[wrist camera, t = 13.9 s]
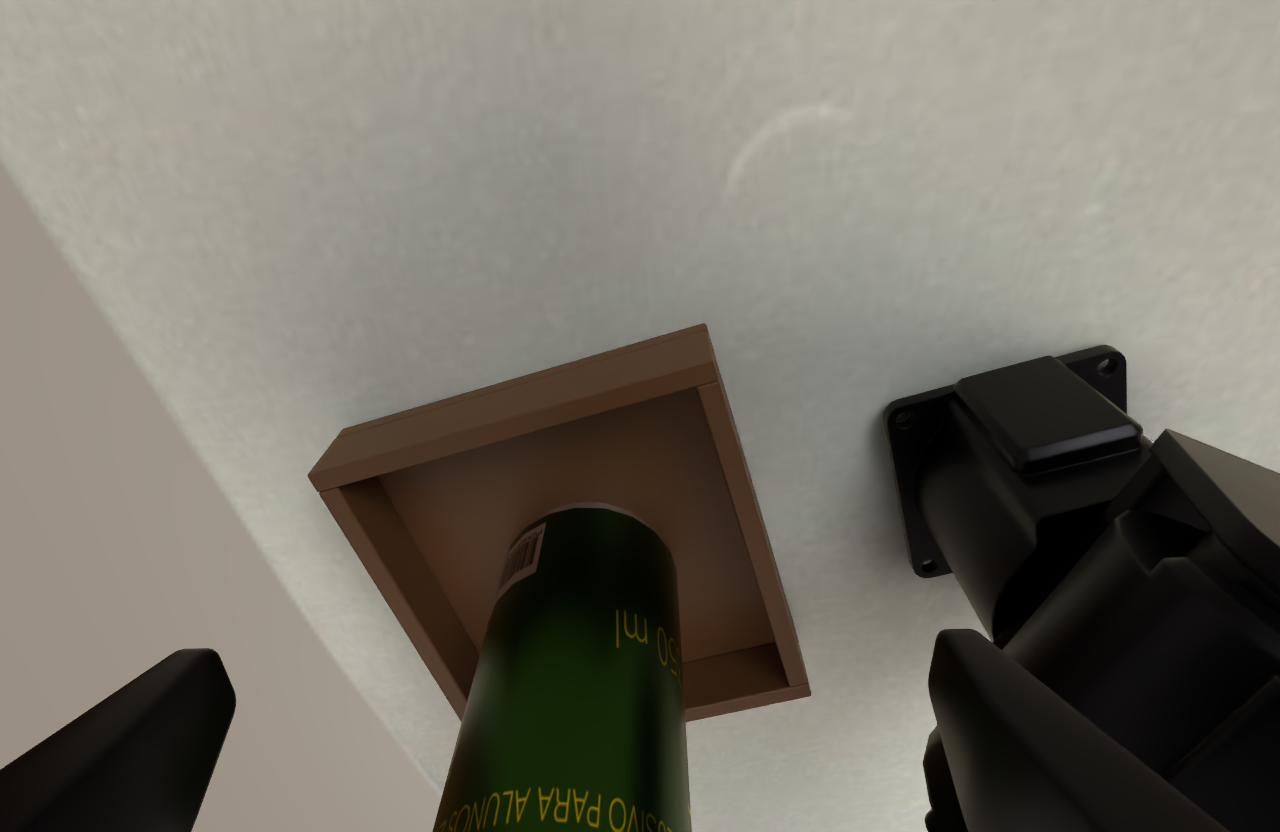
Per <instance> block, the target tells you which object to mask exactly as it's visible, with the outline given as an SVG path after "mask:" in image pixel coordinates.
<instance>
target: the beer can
mask: <svg viewBox="0 0 1280 832" xmlns="http://www.w3.org/2000/svg"><path fill="white" fill-rule="evenodd" d="M433 832H692V827H691V810H690V792H689V775H688V757H687V740H686V723H685V705H684V688H683V670H682V653H681V635H680V618H679V601H678V583H677V570H676V567H675V564H674V561H673V558H672V555H671V552H670V550H669V548H668V547H667V546H666V545H665V543H664V542H663V541H662V540H661V538H660V537H659V536H658V535H657V533H656V532H655V531H654V530H653V529H652V528H651V526H650V525H649V524H648V523H647V522H646V521H644V520H643V519H641V518H640V517H638V516H637V515H635V514H634V513H632V512H631V511H629V510H627V509H624V508H621V507H618V506H614V505H611V504H608V503H603V502H577V503H572V504H568V505H564V506H560V507H556V508H555V509H553V510H551V511H549V512H548V513H546V514H544V515H542V516H540V517H539V518H537V519H536V520H535V521H533V522H532V523H531V524H529V525H528V526H527V527H526V528H525V529H524V530H523V531H522V532H521V534H520V535H519V536H518V537H517V538H516V539H515V540H514V542H513V543H512V544H511V546H510V549H509V551H508V554H507V557H506V560H505V563H504V566H503V569H502V573H501V577H500V581H499V584H498V588H497V592H496V596H495V599H494V603H493V607H492V611H491V614H490V618H489V622H488V626H487V629H486V633H485V637H484V641H483V644H482V648H481V652H480V656H479V659H478V663H477V667H476V671H475V674H474V678H473V682H472V686H471V690H470V693H469V697H468V701H467V705H466V708H465V712H464V716H463V720H462V723H461V727H460V731H459V735H458V738H457V742H456V746H455V750H454V753H453V757H452V761H451V765H450V768H449V772H448V776H447V780H446V783H445V787H444V791H443V795H442V798H441V802H440V806H439V810H438V813H437V817H436V821H435V825H434V828H433Z"/></svg>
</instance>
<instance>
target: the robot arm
mask: <svg viewBox="0 0 1280 832" xmlns="http://www.w3.org/2000/svg"><path fill="white" fill-rule="evenodd" d="M1107 359H1109V361H1108V364H1107V365H1106V366H1105V367H1104V368H1102V369H1100V370H1097V369H1098V366H1099V365H1100V363H1101V362H1103V361H1105V360H1107ZM902 413H909V416H908V418H907V419H906V420H904V421H902V422H896V418H897V417H898V416H899V415H900V414H902ZM883 421H884V426H885V431H886V437H887V442H888V448H889V453H890V458H891V464H892V469H893V475H894V480H895V486H896V491H897V496H898V502H899V507H900V513H901V518H902V523H903V529H904V534H905V540H906V545H907V551H908V556H909V561H910V564H911V566H912V568H913V570H914V572H915V574H916V575H918V576H919V577H922V578H932V577H937V576H941V575H946V574H950V573H953V574H954V575H955V577H956V579H957V581H958V582H959V584H960V586H961V588H962V589H963V591H964V593H965V595H966V597H967V598H968V600H969V602H970V604H971V605H972V607H973V609H974V611H975V612H976V614H977V616H978V618H979V620H980V621H981V623H982V625H983V627H984V628H985V630H986V632H987V634H988V636H989V637H990V639H991V641H992V642H990V641H989V640H988V639H987V638H985V637H984V636H983V635H982V634H980V633H979V632H977V631H975V630H973V629H945V630H942V631H940V632H939V634H938V635H937V638H936V642H935V647H934V652H933V657H932V662H931V667H930V672H929V678H928V687H929V694H930V699H931V702H932V706H933V709H934V713H935V717H936V720H937V727H936V728H935V729H934V730H933V731H932V732H931V734H930V735H929V738H928V743H927V747H926V751H925V755H924V760H923V767H924V773H925V778H926V784H927V790H928V796H929V802H930V805H931V807H932V809H931V810H930V811H929V812H928V813H927V814H926V817H925V824H926V828H927V830H928V832H1280V474H1279V473H1277V472H1274V471H1272V470H1269V469H1267V468H1264V467H1262V466H1259V465H1257V464H1254V463H1252V462H1250V461H1247V460H1245V459H1242V458H1240V457H1237V456H1235V455H1232V454H1230V453H1227V452H1225V451H1222V450H1220V449H1217V448H1215V447H1212V446H1210V445H1207V444H1205V443H1202V442H1200V441H1197V440H1195V439H1192V438H1190V437H1187V436H1185V435H1182V434H1180V433H1177V432H1175V431H1172V430H1170V429H1165V430H1164V431H1163V433H1162V434H1161V435H1160V436H1159V437H1158V439H1157V440H1156V441H1155V442H1154V443H1152V442H1151V441H1150V440H1149V439H1147V438H1146V437H1145V436H1144V435H1143V429H1142V427H1141V425H1139V424H1138V423H1137V422H1136V421H1134V420H1133V419H1132V418H1131V417H1129V416H1128V415H1127V383H1126V360H1125V357H1124V356H1123V355H1122V354H1121V353H1120V352H1119V351H1117V350H1116V349H1114V348H1113V347H1110V346H1107V345H1103V346H1096V347H1093V348H1089V349H1085V350H1081V351H1078V352H1074V353H1070V354H1066V355H1063V356H1059V357H1055V358H1054V357H1052V356H1044V357H1041V358H1037V359H1033V360H1029V361H1026V362H1022V363H1018V364H1014V365H1011V366H1007V367H1003V368H999V369H996V370H992V371H988V372H984V373H981V374H977V375H973V376H969V377H966V378H962V379H961V380H959V381H958V382H957V383H956V384H954V385H950V386H946V387H942V388H939V389H935V390H931V391H927V392H924V393H920V394H916V395H912V396H909V397H905V398H901V399H898V400H895V401H893V402H891V403H890V404H889V405H888V406H887V407H886V409H885V411H884V413H883ZM927 560H932V561H931V562H930V563H927V564H923V563H924V562H925V561H927ZM235 707H236V697H235V692H234V689H233V687H232V684H231V682H230V679H229V677H228V675H227V672H226V670H225V668H224V665H223V663H222V661H221V658H220V656H219V654H218V653H217V652H216V651H214V650H213V649H209V648H203V649H202V648H201V649H182V650H178V651H176V652H174V653H173V654H171V655H170V656H168V657H167V658H165V659H164V660H162V661H161V662H159V663H158V664H156V665H155V666H153V667H152V668H151V669H149V670H147V671H146V672H144V673H143V674H141V675H140V676H139V677H137V678H136V679H134V680H133V681H131V682H130V683H128V684H127V685H125V686H124V687H122V688H121V689H119V690H118V691H116V692H115V693H113V694H112V695H110V696H109V697H107V698H106V699H104V700H103V701H102V702H100V703H99V704H97V705H95V706H94V707H93V708H91V709H90V710H88V711H87V712H85V713H84V714H82V715H81V716H79V717H78V718H76V719H75V720H73V721H72V722H70V723H69V724H67V725H66V726H64V727H63V728H61V729H60V730H59V731H57V732H56V733H54V734H53V735H51V736H50V737H48V738H47V739H45V740H44V741H42V742H41V743H39V744H38V745H36V746H35V747H33V748H32V749H30V750H29V751H27V752H26V753H25V754H23V755H21V756H20V757H18V758H17V759H16V760H14V761H13V762H11V763H10V764H8V765H7V766H5V767H4V768H2V769H1V770H0V832H191V831H192V828H193V825H194V823H195V820H196V818H197V815H198V813H199V810H200V807H201V804H202V802H203V799H204V796H205V793H206V790H207V787H208V785H209V782H210V779H211V777H212V774H213V771H214V768H215V766H216V763H217V760H218V757H219V754H220V751H221V749H222V746H223V743H224V741H225V738H226V735H227V732H228V730H229V727H230V724H231V721H232V718H233V716H234V712H235Z"/></svg>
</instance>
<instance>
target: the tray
mask: <svg viewBox="0 0 1280 832" xmlns="http://www.w3.org/2000/svg"><path fill="white" fill-rule="evenodd" d="M308 478H309V479H310V481H311V482H312V484H313V486H314V487H315V489H316V490H317V492H319V494H320V496H321V498H322V499H323V501H324V503H325V504H326V506H327V507H328V509H329V511H330V512H331V514H332V515H333V517H334V519H335V520H336V522H337V523H338V525H339V527H340V528H341V530H342V531H343V533H344V535H345V536H346V538H347V539H348V541H349V543H350V544H351V546H352V547H353V549H354V551H355V552H356V554H357V555H358V557H359V559H360V560H361V562H362V563H363V565H364V567H365V568H366V570H367V571H368V573H369V575H370V576H371V578H372V579H373V581H374V583H375V584H376V586H377V587H378V589H379V591H380V592H381V594H382V595H383V597H384V599H385V600H386V602H387V603H388V605H389V607H390V608H391V610H392V611H393V613H394V615H395V616H396V618H397V619H398V621H399V623H400V624H401V626H402V627H403V629H404V631H405V632H406V634H407V635H408V637H409V639H410V640H411V642H412V643H413V645H414V647H415V648H416V650H417V652H418V653H419V655H420V656H421V658H422V660H423V661H424V663H425V664H426V666H427V668H428V669H429V671H430V672H431V674H432V676H433V677H434V679H435V680H436V682H437V684H438V685H439V687H440V688H441V690H442V692H443V693H444V695H445V696H446V698H447V700H448V701H449V703H450V704H451V706H452V708H453V709H454V711H455V712H456V714H457V716H458V717H459V719H460V720H461V722H462V720H463V716H464V712H465V708H466V705H467V701H468V697H469V693H470V690H471V686H472V682H473V678H474V674H475V671H476V667H477V663H478V659H479V656H480V652H481V648H482V644H483V641H484V637H485V633H486V629H487V626H488V622H489V618H490V614H491V611H492V607H493V603H494V599H495V596H496V592H497V588H498V584H499V581H500V577H501V573H502V569H503V566H504V563H505V560H506V557H507V554H508V551H509V549H510V546H511V544H512V543H513V542H514V540H515V539H516V538H517V537H518V536H519V535H520V534H521V532H522V531H523V530H524V529H525V528H526V527H527V526H528V525H529V524H531V523H532V522H533V521H535V520H536V519H537V518H539V517H540V516H542V515H544V514H546V513H548V512H549V511H551V510H553V509H555V508H556V507H560V506H564V505H568V504H572V503H577V502H603V503H608V504H611V505H614V506H618V507H621V508H624V509H627V510H629V511H631V512H632V513H634V514H635V515H637V516H638V517H640V518H641V519H643V520H644V521H646V522H647V523H648V524H649V525H650V526H651V528H652V529H653V530H654V531H655V532H656V533H657V535H658V536H659V537H660V538H661V540H662V541H663V542H664V543H665V545H666V546H667V547H668V548H669V550H670V552H671V555H672V558H673V561H674V564H675V567H676V570H677V583H678V601H679V618H680V635H681V653H682V670H683V688H684V705H685V722H689V721H694V720H699V719H704V718H708V717H713V716H718V715H723V714H727V713H732V712H737V711H742V710H747V709H751V708H756V707H761V706H766V705H770V704H775V703H780V702H785V701H789V700H794V699H799V698H804V697H808V696H811V690H810V686H809V682H808V678H807V674H806V670H805V666H804V662H803V658H802V654H801V650H800V646H799V642H798V638H797V634H796V631H795V627H794V624H793V620H792V617H791V614H790V610H789V607H788V603H787V600H786V596H785V593H784V590H783V586H782V583H781V579H780V576H779V573H778V569H777V566H776V562H775V559H774V555H773V552H772V549H771V545H770V542H769V538H768V535H767V531H766V528H765V525H764V521H763V518H762V514H761V511H760V508H759V504H758V501H757V497H756V494H755V490H754V487H753V484H752V480H751V477H750V473H749V470H748V466H747V463H746V460H745V456H744V453H743V449H742V446H741V443H740V439H739V436H738V432H737V429H736V425H735V422H734V419H733V415H732V412H731V408H730V405H729V402H728V398H727V395H726V391H725V388H724V384H723V381H722V378H721V374H720V371H719V367H718V364H717V360H716V357H715V354H714V350H713V347H712V343H711V340H710V337H709V333H708V330H707V326H706V324H700V325H696V326H693V327H690V328H686V329H683V330H679V331H676V332H673V333H669V334H666V335H662V336H659V337H655V338H652V339H649V340H645V341H642V342H638V343H635V344H632V345H628V346H625V347H621V348H618V349H615V350H611V351H608V352H604V353H601V354H597V355H594V356H591V357H587V358H584V359H580V360H577V361H574V362H570V363H567V364H563V365H560V366H557V367H553V368H550V369H546V370H543V371H539V372H536V373H533V374H529V375H526V376H522V377H519V378H516V379H512V380H509V381H505V382H502V383H499V384H495V385H492V386H488V387H485V388H481V389H478V390H475V391H471V392H468V393H464V394H461V395H458V396H454V397H451V398H447V399H444V400H440V401H437V402H434V403H430V404H427V405H423V406H420V407H417V408H413V409H410V410H406V411H403V412H400V413H396V414H393V415H389V416H386V417H382V418H379V419H376V420H372V421H369V422H365V423H362V424H359V425H355V426H352V427H348V428H345V429H343V430H342V431H341V432H340V434H339V435H338V436H337V437H336V439H335V440H334V441H333V442H332V444H331V445H330V446H329V447H328V449H327V450H326V451H325V453H324V454H323V455H322V457H321V458H320V459H319V461H318V462H317V463H316V465H315V466H314V467H313V468H312V470H311V471H310V472H309V474H308Z"/></svg>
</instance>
